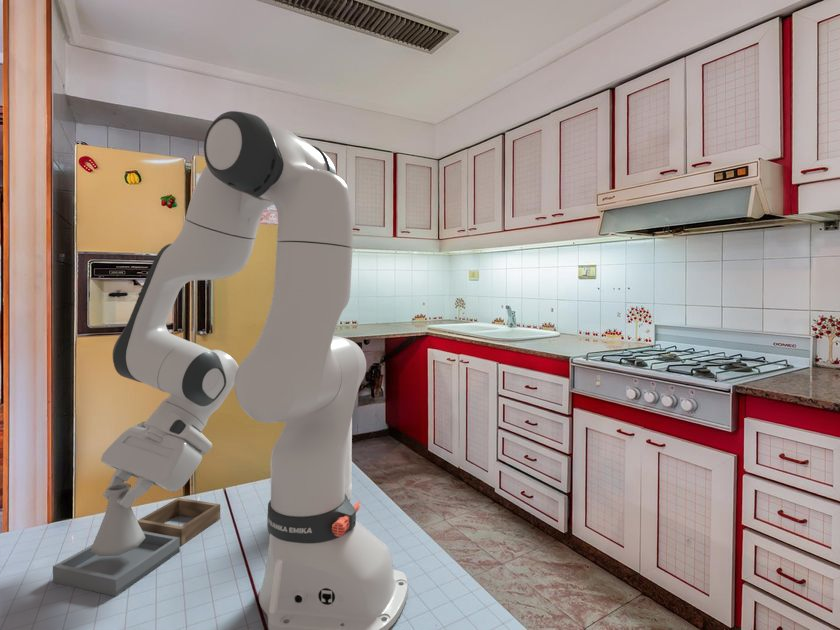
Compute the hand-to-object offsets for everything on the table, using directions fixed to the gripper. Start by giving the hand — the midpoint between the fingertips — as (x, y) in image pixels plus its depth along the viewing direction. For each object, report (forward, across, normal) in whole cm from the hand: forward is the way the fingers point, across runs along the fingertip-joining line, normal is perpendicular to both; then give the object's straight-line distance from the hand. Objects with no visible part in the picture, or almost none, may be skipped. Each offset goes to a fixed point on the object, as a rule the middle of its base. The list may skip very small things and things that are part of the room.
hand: (114, 502), depth 74 cm
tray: (+7, 0, +8) cm, 11 cm away
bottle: (-19, +14, +35) cm, 42 cm away
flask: (+5, 0, +6) cm, 8 cm away
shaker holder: (-2, -3, +17) cm, 17 cm away
